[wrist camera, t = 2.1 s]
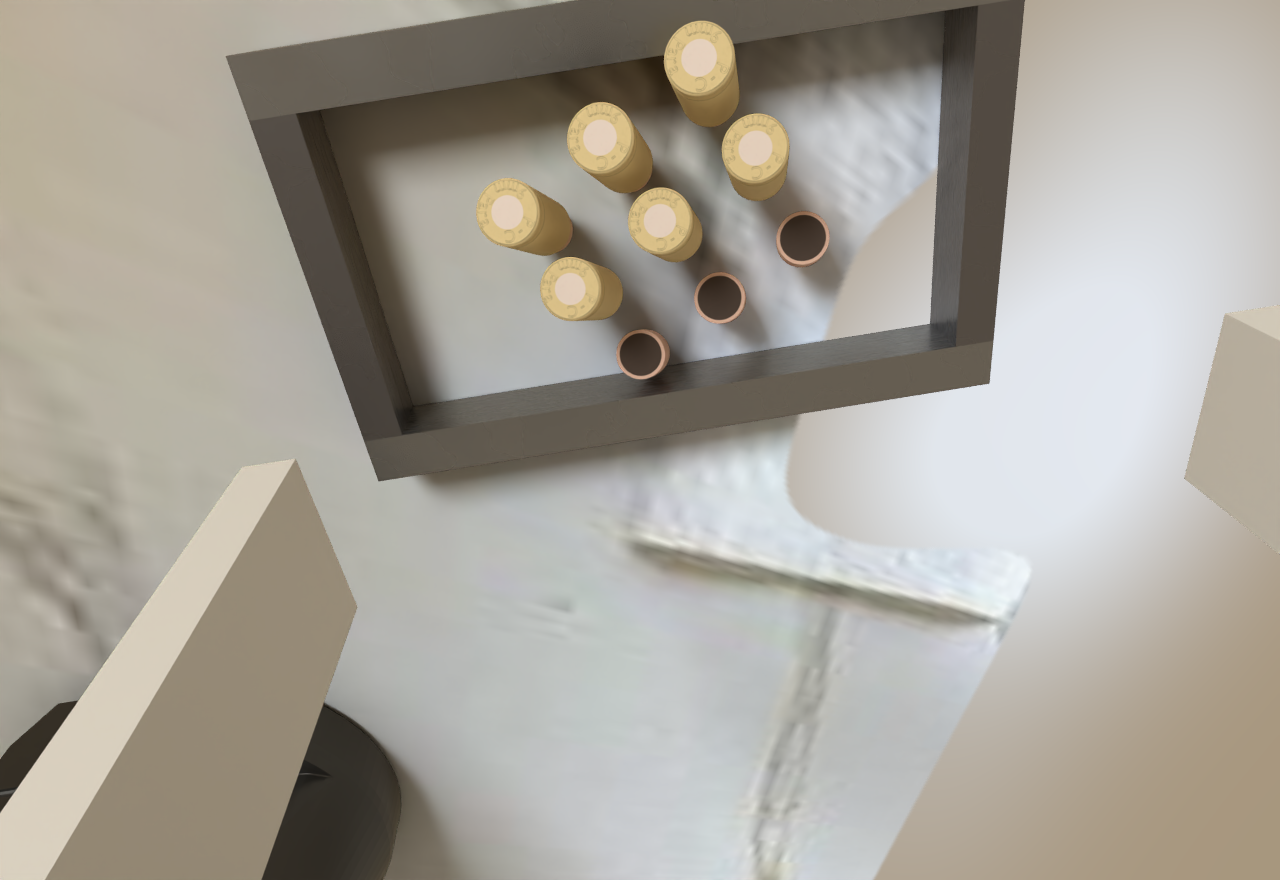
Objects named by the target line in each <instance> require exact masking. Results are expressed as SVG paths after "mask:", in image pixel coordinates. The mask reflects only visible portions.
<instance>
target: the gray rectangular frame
mask: <svg viewBox="0 0 1280 880" xmlns="http://www.w3.org/2000/svg"><path fill="white" fill-rule="evenodd" d="M1024 2H1025V0H574V1H567V2H561V3H555V4H549V5H542V6H536V7H530V8H523V9H517V10H511V11H504V12H498V13H492V14H485V15H479V16H473V17H467V18H460V19H454V20H448V21H441V22H435V23H429V24H422V25H416V26H410V27H403V28H397V29H391V30H384V31H378V32H372V33H366V34H359V35H353V36H347V37H340V38H334V39H328V40H321V41H315V42H309V43H302V44H296V45H290V46H283V47H277V48H271V49H265V50H258V51H252V52H246V53H241V54H235V55H229V56H226V58H227V61H228V64H229V66H230V69H231V72H232V75H233V78H234V80H235V83H236V86H237V89H238V92H239V94H240V97H241V100H242V103H243V105H244V108H245V111H246V114H247V117H248V119H249V122H250V125H251V128H252V130H253V133H254V136H255V139H256V142H257V144H258V147H259V150H260V153H261V155H262V158H263V161H264V164H265V167H266V169H267V172H268V175H269V178H270V181H271V183H272V186H273V189H274V192H275V194H276V197H277V200H278V203H279V206H280V208H281V211H282V214H283V217H284V219H285V222H286V225H287V228H288V231H289V233H290V236H291V239H292V242H293V244H294V247H295V250H296V253H297V256H298V258H299V261H300V264H301V267H302V270H303V272H304V275H305V278H306V281H307V283H308V286H309V289H310V292H311V295H312V297H313V300H314V303H315V306H316V308H317V311H318V314H319V317H320V320H321V322H322V325H323V328H324V331H325V333H326V336H327V339H328V342H329V345H330V347H331V350H332V353H333V356H334V359H335V361H336V364H337V367H338V370H339V372H340V375H341V378H342V381H343V384H344V386H345V389H346V392H347V395H348V397H349V400H350V403H351V406H352V409H353V411H354V414H355V417H356V420H357V423H358V425H359V428H360V431H361V434H362V436H363V439H364V442H365V445H366V448H367V450H368V453H369V456H370V459H371V461H372V464H373V467H374V470H375V473H376V475H377V478H378V481H384V480H390V479H397V478H403V477H409V476H415V475H421V474H428V473H434V472H440V471H446V470H453V469H459V468H465V467H471V466H478V465H484V464H490V463H496V462H503V461H509V460H515V459H521V458H528V457H534V456H540V455H546V454H553V453H559V452H565V451H571V450H577V449H584V448H590V447H596V446H602V445H609V444H615V443H621V442H627V441H634V440H640V439H646V438H652V437H659V436H665V435H671V434H677V433H684V432H690V431H696V430H702V429H709V428H715V427H721V426H727V425H733V424H740V423H746V422H752V421H758V420H765V419H771V418H777V417H783V416H790V415H796V414H802V413H808V412H815V411H821V410H827V409H833V408H840V407H845V406H852V405H858V404H865V403H870V402H877V401H883V400H889V399H895V398H902V397H908V396H914V395H921V394H927V393H933V392H939V391H945V390H951V389H958V388H964V387H971V386H977V385H983V384H989V382H990V371H991V360H992V349H993V339H994V328H995V317H996V306H997V294H998V284H999V273H1000V261H1001V252H1002V240H1003V229H1004V219H1005V208H1006V197H1007V187H1008V176H1009V165H1010V154H1011V143H1012V132H1013V121H1014V110H1015V100H1016V89H1017V78H1018V67H1019V56H1020V45H1021V35H1022V23H1023V13H1024ZM939 11H945V30H944V51H943V71H942V92H941V113H940V133H939V154H938V174H937V195H936V215H935V236H934V256H933V277H932V297H931V319H930V324H927V325H921V326H914V327H909V328H902V329H896V330H889V331H883V332H878V333H871V334H864V335H859V336H852V337H845V338H839V339H834V340H827V341H820V342H814V343H808V344H802V345H795V346H789V347H783V348H777V349H770V350H764V351H758V352H752V353H745V354H739V355H733V356H727V357H720V358H714V359H708V360H702V361H695V362H689V363H683V364H677V365H670V366H666V367H665V368H664V369H663V370H662V371H661V372H660V373H658V374H656V375H655V376H652V377H650V378H647V379H635V378H632V377H630V376H628V375H627V374H625V373H620V374H614V375H608V376H602V377H595V378H589V379H583V380H577V381H570V382H564V383H558V384H552V385H545V386H539V387H533V388H527V389H520V390H514V391H508V392H502V393H495V394H489V395H483V396H477V397H470V398H464V399H458V400H452V401H445V402H439V403H433V404H427V405H420V406H414V407H413V405H412V402H411V399H410V396H409V393H408V390H407V386H406V383H405V380H404V377H403V374H402V371H401V367H400V364H399V361H398V358H397V355H396V352H395V348H394V345H393V342H392V339H391V336H390V333H389V329H388V326H387V323H386V320H385V317H384V314H383V310H382V307H381V304H380V301H379V298H378V295H377V291H376V288H375V285H374V282H373V279H372V276H371V272H370V269H369V266H368V263H367V260H366V257H365V254H364V250H363V247H362V244H361V241H360V238H359V235H358V231H357V228H356V225H355V222H354V219H353V216H352V212H351V209H350V206H349V203H348V200H347V197H346V193H345V190H344V187H343V184H342V181H341V178H340V174H339V171H338V168H337V165H336V162H335V159H334V155H333V152H332V149H331V146H330V143H329V140H328V136H327V133H326V130H325V127H324V124H323V121H322V117H321V114H320V111H319V110H321V109H328V108H334V107H340V106H347V105H353V104H359V103H365V102H372V101H378V100H384V99H391V98H397V97H403V96H410V95H416V94H422V93H428V92H435V91H441V90H447V89H454V88H460V87H466V86H473V85H479V84H485V83H491V82H498V81H504V80H510V79H517V78H523V77H529V76H536V75H542V74H548V73H554V72H561V71H567V70H573V69H580V68H586V67H592V66H599V65H605V64H611V63H617V62H624V61H630V60H636V59H643V58H649V57H655V56H662V55H664V54H665V50H666V47H667V45H668V42H669V40H670V39H671V37H672V36H673V34H674V33H675V32H676V31H677V30H678V29H680V28H681V27H683V26H684V25H686V24H688V23H691V22H695V21H708V22H713V23H715V24H717V25H719V26H720V27H721V28H723V29H724V30H725V31H726V32H727V34H728V35H729V37H730V38H731V40H732V43H733V44H737V43H743V42H750V41H756V40H762V39H769V38H775V37H781V36H788V35H794V34H800V33H806V32H813V31H819V30H825V29H832V28H838V27H844V26H851V25H857V24H863V23H869V22H876V21H882V20H888V19H895V18H901V17H907V16H914V15H920V14H926V13H932V12H939Z"/></svg>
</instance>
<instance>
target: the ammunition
mask: <svg viewBox="0 0 1280 880" xmlns="http://www.w3.org/2000/svg"><path fill="white" fill-rule="evenodd" d="M664 66H665V71H666V74H667V77H668V79H669V81H670V83H671V85H672V87H673V90H674V92H675V94H676V96H677V98H678V100H679V102H680V104H681V106H682V109H683V111H684V112H685V114H686V116H687V117H688V118H689V119H690V120H691V121H692V122H694V123H695V124H698V125H700V126H704V127H714V126H718V125H720V124H722V123H724V122H726V121H727V120H728V119H729V118H730V117H731V116H732V115H733V113H734V112H735V110H736V108H737V106H738V103H739V97H740V91H739V83H738V75H737V67H736V59H735V51H734V46H733V43H732V40H731V38H730V37H729V35H728V34H727V32H726V31H725V30H724V29H723V28H721V27H720V26H719V25H717V24H715V23H713V22H708V21H695V22H691V23H688V24H686V25H684V26H683V27H681V28H680V29H678V30H677V31H676V32H675V33H674V34H673V36H672V37H671V39H670V40H669V42H668V45H667V47H666V50H665V54H664ZM567 144H568V149H569V152H570V155H571V157H572V158H573V160H574V161H575V162H576V164H577V165H578V166H580V167H581V168H582V169H583V170H585V171H586V172H587V173H589V174H590V175H591V176H593V177H594V178H595V179H597V180H598V181H600V182H601V183H602V184H604V185H605V186H606V187H608V188H609V189H611V190H613V191H615V192H618V193H630V192H635V191H638V190H640V189H641V188H643V187H644V186H645V185H646V184H647V182H648V181H649V179H650V177H651V173H652V167H653V159H652V154H651V151H650V149H649V147H648V145H647V144H646V142H645V141H644V139H643V138H642V136H641V135H640V133H639V132H638V130H637V129H636V127H635V126H634V124H633V123H632V122H631V120H630V119H629V117H628V116H627V115H626V113H625V112H624V111H623V110H622V109H620V108H619V107H617V106H615V105H613V104H610V103H606V102H597V103H592V104H590V105H587V106H585V107H584V108H582V109H581V110H580V111H579V112H578V113H577V114H576V115H575V116H574V118H573V119H572V121H571V123H570V126H569V129H568V133H567ZM789 147H790V146H789V138H788V135H787V132H786V130H785V129H784V127H783V126H782V125H781V123H780V122H779V121H777V120H776V119H775V118H773V117H771V116H769V115H765V114H756V113H755V114H749V115H746V116H744V117H742V118H740V119H738V120H737V121H736V122H734V123H733V124H732V125H731V127H730V128H729V129H728V131H727V132H726V135H725V137H724V140H723V143H722V158H723V161H724V164H725V167H726V170H727V172H728V175H729V178H730V180H731V183H732V185H733V187H734V189H735V190H736V192H737V193H738V194H739V195H741V196H742V197H744V198H746V199H748V200H752V201H762V200H766V199H769V198H770V197H772V196H774V195H775V194H776V193H777V192H778V191H779V190H780V189H781V187H782V186H783V184H784V182H785V178H786V173H787V165H788V157H789ZM476 216H477V222H478V225H479V227H480V229H481V231H482V233H483V234H484V235H485V236H486V237H487V238H488V239H489V240H490V241H491V242H493V243H495V244H497V245H500V246H504V247H508V248H512V249H516V250H520V251H524V252H528V253H532V254H536V255H541V256H547V255H551V254H554V253H557V252H559V251H561V250H563V249H564V248H565V247H566V246H567V245H568V244H569V243H570V241H571V239H572V235H573V226H572V222H571V220H570V218H569V215H568V213H567V212H566V210H565V209H564V208H563V206H562V205H560V204H559V203H558V202H556V201H554V200H553V199H551V198H549V197H548V196H546V195H544V194H542V193H541V192H539V191H537V190H536V189H534V188H532V187H530V186H529V185H527V184H525V183H523V182H521V181H519V180H516V179H512V178H504V179H499V180H497V181H494V182H493V183H491V184H490V185H488V186H487V187H486V188H485V189H484V191H483V192H482V194H481V195H480V198H479V200H478V203H477V209H476ZM628 226H629V231H630V234H631V236H632V238H633V240H634V241H635V243H636V244H637V245H638V246H639V247H640V248H642V249H643V250H645V251H647V252H649V253H651V254H653V255H655V256H657V257H659V258H661V259H663V260H665V261H669V262H681V261H684V260H686V259H688V258H690V257H691V256H692V255H693V254H695V252H696V251H697V250H698V248H699V246H700V244H701V241H702V234H703V232H702V226H701V223H700V221H699V219H698V217H697V216H696V214H695V213H694V211H693V210H692V208H691V207H690V205H689V204H688V202H687V201H686V200H685V199H684V197H683V196H682V195H680V194H679V193H678V192H676V191H674V190H672V189H668V188H660V187H659V188H653V189H650V190H648V191H646V192H644V193H643V194H641V195H640V196H639V197H638V198H637V199H636V200H635V202H634V203H633V205H632V207H631V209H630V213H629V217H628ZM829 237H830V236H829V230H828V226H827V225H826V223H825V221H824V220H823V219H822V218H821V217H820V216H818V215H817V214H815V213H812V212H808V211H801V212H796V213H793V214H791V215H790V216H788V217H787V218H786V219H785V220H784V221H783V222H782V223H781V225H780V227H779V229H778V232H777V238H776V245H777V250H778V253H779V255H780V257H781V258H782V259H783V260H784V261H785V262H786V263H787V264H789V265H791V266H795V267H807V266H810V265H812V264H814V263H815V262H817V261H818V260H819V259H820V258H821V257H822V255H823V254H824V253H825V251H826V249H827V247H828V244H829ZM540 292H541V298H542V300H543V303H544V305H545V307H546V308H547V309H548V310H549V312H550V313H552V314H553V315H554V316H556V317H558V318H560V319H562V320H566V321H586V320H602V319H606V318H608V317H610V316H611V315H613V314H614V313H615V312H616V311H617V310H618V308H619V306H620V304H621V302H622V298H623V289H622V285H621V282H620V280H619V278H618V277H617V275H616V274H615V273H614V272H612V271H611V270H609V269H607V268H605V267H603V266H600V265H597V264H594V263H591V262H589V261H586V260H583V259H580V258H576V257H565V258H561V259H559V260H557V261H555V262H553V263H552V264H551V265H550V266H549V267H548V268H547V270H546V271H545V272H544V275H543V277H542V280H541V285H540ZM694 301H695V306H696V309H697V311H698V312H699V314H700V315H701V316H702V317H703V318H704V319H706V320H707V321H709V322H712V323H719V324H721V323H728V322H731V321H733V320H734V319H736V318H737V317H738V316H739V315H740V314H741V313H742V311H743V309H744V307H745V304H746V293H745V290H744V287H743V285H742V284H741V283H740V281H739V280H738V279H737V278H735V277H734V276H733V275H731V274H728V273H724V272H716V273H712V274H709V275H708V276H706V277H705V278H703V279H702V280H701V281H700V283H699V284H698V286H697V288H696V291H695V295H694ZM616 356H617V361H618V364H619V366H620V368H621V370H622V371H623V372H624V373H625V374H627V375H628V376H630V377H632V378H635V379H647V378H650V377H652V376H655V375H656V374H658V373H660V372H661V371H662V370H663V369H664V368H665V367H666V365H667V363H668V360H669V357H670V350H669V346H668V343H667V341H666V340H665V338H664V337H663V336H662V335H660V334H659V333H657V332H655V331H652V330H645V329H644V330H635V331H632V332H630V333H628V334H626V335H625V336H624V337H623V338H622V339H621V341H620V342H619V345H618V347H617V354H616Z"/></svg>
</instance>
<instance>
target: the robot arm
mask: <svg viewBox="0 0 1280 880" xmlns="http://www.w3.org/2000/svg"><path fill="white" fill-rule="evenodd" d="M1184 479H1185V480H1187V481H1188V482H1189V483H1191V484H1192V485H1193V486H1194V487H1196V488H1197V489H1198V490H1200V491H1201V492H1202V493H1203V494H1204V495H1206V496H1207V497H1208V498H1210V499H1211V500H1212V501H1213V502H1214V503H1216V504H1217V505H1218V506H1219V507H1221V508H1222V509H1223V510H1224V511H1226V512H1227V513H1228V514H1229V515H1231V516H1232V517H1233V518H1234V519H1236V520H1237V521H1238V522H1239V523H1241V524H1242V525H1243V526H1244V527H1246V528H1247V529H1248V530H1249V531H1251V532H1252V533H1253V534H1254V535H1256V536H1257V537H1258V538H1260V539H1261V540H1262V541H1263V542H1264V543H1266V544H1267V545H1268V546H1269V547H1271V548H1272V549H1273V550H1275V551H1276V552H1277V553H1278V554H1280V305H1277V306H1271V307H1264V308H1258V309H1252V310H1245V311H1240V312H1232V313H1226V314H1225V316H1224V320H1223V324H1222V328H1221V332H1220V336H1219V340H1218V344H1217V348H1216V352H1215V356H1214V360H1213V364H1212V368H1211V372H1210V376H1209V381H1208V384H1207V388H1206V393H1205V397H1204V401H1203V405H1202V409H1201V413H1200V417H1199V421H1198V425H1197V429H1196V433H1195V437H1194V441H1193V445H1192V449H1191V453H1190V457H1189V461H1188V465H1187V469H1186V474H1185V478H1184ZM356 609H357V605H356V602H355V600H354V598H353V595H352V593H351V590H350V588H349V586H348V583H347V581H346V578H345V576H344V574H343V571H342V569H341V566H340V564H339V562H338V559H337V557H336V554H335V552H334V550H333V547H332V545H331V542H330V540H329V538H328V535H327V533H326V530H325V528H324V526H323V523H322V521H321V518H320V516H319V514H318V511H317V509H316V506H315V504H314V502H313V499H312V497H311V494H310V492H309V490H308V487H307V485H306V482H305V480H304V478H303V475H302V473H301V470H300V468H299V466H298V463H297V461H296V459H291V460H285V461H278V462H272V463H265V464H259V465H253V466H246V467H241V469H240V470H239V472H238V473H237V475H236V476H235V478H234V479H233V480H232V482H231V483H230V485H229V486H228V488H227V489H226V490H225V492H224V493H223V495H222V496H221V498H220V499H219V500H218V502H217V503H216V505H215V506H214V508H213V509H212V510H211V512H210V513H209V515H208V516H207V518H206V519H205V520H204V522H203V523H202V525H201V526H200V528H199V529H198V530H197V532H196V533H195V535H194V536H193V538H192V539H191V541H190V542H189V543H188V545H187V546H186V548H185V549H184V551H183V552H182V553H181V555H180V556H179V558H178V559H177V561H176V562H175V563H174V565H173V566H172V568H171V569H170V571H169V572H168V573H167V575H166V576H165V578H164V579H163V581H162V582H161V583H160V585H159V586H158V588H157V589H156V591H155V592H154V593H153V595H152V596H151V598H150V599H149V601H148V602H147V604H146V605H145V606H144V608H143V609H142V611H141V612H140V614H139V615H138V616H137V618H136V619H135V621H134V622H133V624H132V625H131V626H130V628H129V629H128V631H127V632H126V634H125V635H124V636H123V638H122V639H121V641H120V642H119V644H118V645H117V646H116V648H115V649H114V651H113V652H112V654H111V655H110V656H109V658H108V659H107V661H106V662H105V664H104V665H103V667H102V668H101V669H100V671H99V672H98V674H97V675H96V677H95V678H94V679H93V681H92V682H91V684H90V685H89V687H88V688H87V689H86V691H85V692H84V694H83V695H82V697H81V698H80V699H79V701H73V702H66V703H60V704H58V705H56V706H55V707H54V708H53V709H52V710H51V711H50V712H48V713H47V714H46V715H45V716H44V717H43V718H42V719H40V720H39V721H38V722H37V723H36V724H35V725H34V726H33V727H31V728H30V729H29V730H28V731H27V732H26V733H25V734H23V735H22V736H21V737H20V738H19V739H18V740H17V741H15V742H14V743H13V744H12V745H11V746H10V747H9V748H8V750H7V751H6V752H5V754H4V755H3V756H2V758H1V759H0V880H383V879H384V877H385V874H386V872H387V869H388V867H389V864H390V861H391V857H392V852H393V848H394V843H395V838H396V833H397V828H398V823H399V818H400V813H401V795H400V789H399V785H398V781H397V779H396V776H395V773H394V771H393V769H392V768H391V766H390V764H389V762H388V761H387V759H386V758H385V756H384V755H383V753H382V752H381V751H380V749H379V748H378V747H377V746H376V745H375V744H374V743H373V742H372V740H370V739H369V738H368V737H367V736H366V735H365V734H364V733H363V732H362V731H361V730H359V729H358V728H357V727H356V726H355V725H353V724H352V723H350V722H349V721H348V720H346V719H345V718H343V717H342V716H340V715H338V714H337V713H335V712H334V711H332V710H330V709H328V708H326V707H324V706H323V703H324V700H325V697H326V695H327V692H328V689H329V686H330V683H331V680H332V678H333V675H334V672H335V669H336V666H337V663H338V661H339V658H340V655H341V652H342V649H343V646H344V643H345V641H346V638H347V635H348V632H349V629H350V626H351V624H352V621H353V618H354V615H355V612H356Z"/></svg>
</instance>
